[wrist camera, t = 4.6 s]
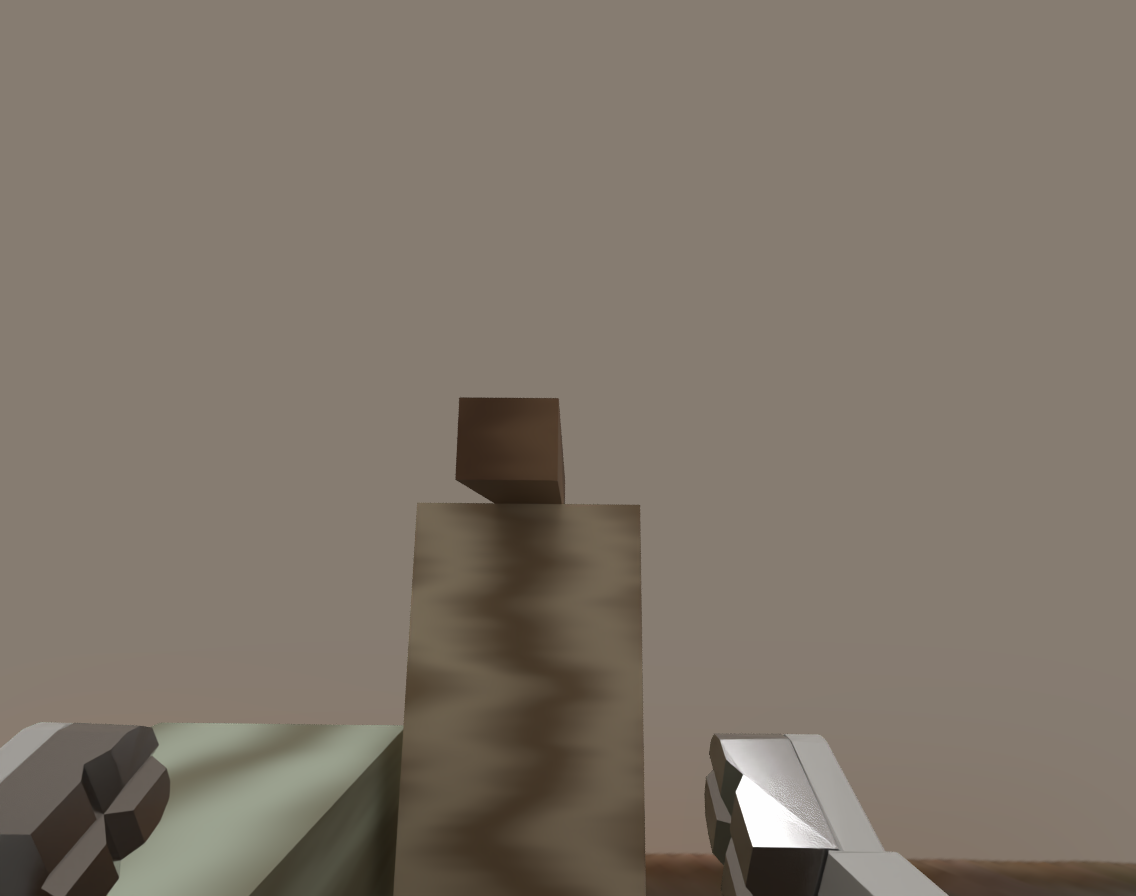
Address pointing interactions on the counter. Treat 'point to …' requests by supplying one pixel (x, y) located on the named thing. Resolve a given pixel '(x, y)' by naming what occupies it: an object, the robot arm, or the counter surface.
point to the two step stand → (444, 738)
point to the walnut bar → (511, 449)
